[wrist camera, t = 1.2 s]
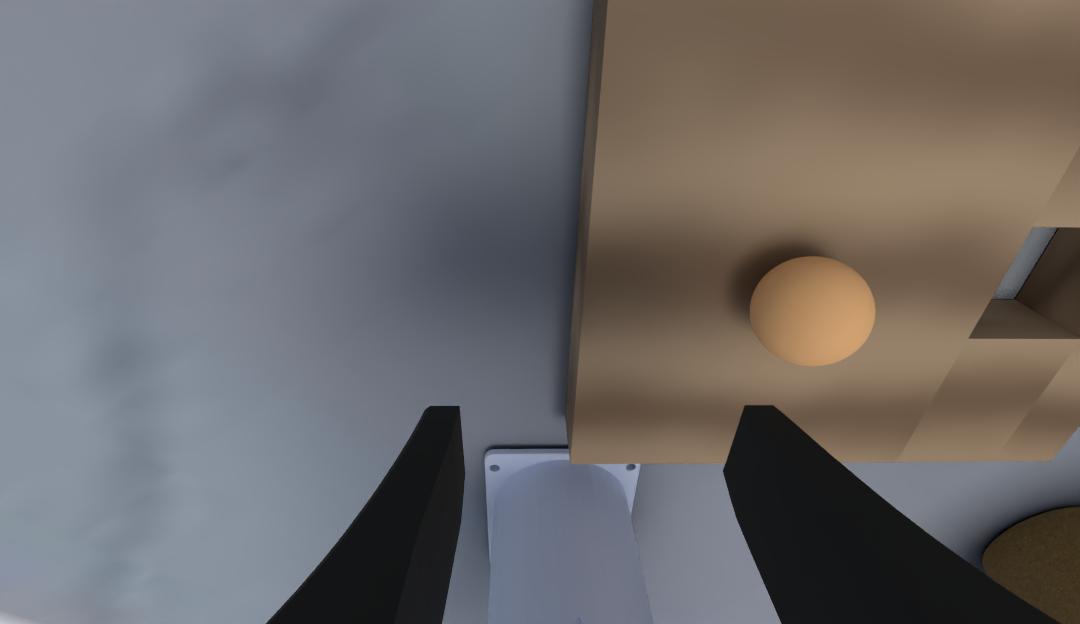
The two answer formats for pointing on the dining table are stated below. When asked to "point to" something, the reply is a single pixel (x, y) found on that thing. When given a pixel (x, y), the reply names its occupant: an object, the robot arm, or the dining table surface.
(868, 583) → the robot arm
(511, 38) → the dining table surface
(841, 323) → the ball
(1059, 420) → the brown wooden flat block
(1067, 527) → the plant pot
